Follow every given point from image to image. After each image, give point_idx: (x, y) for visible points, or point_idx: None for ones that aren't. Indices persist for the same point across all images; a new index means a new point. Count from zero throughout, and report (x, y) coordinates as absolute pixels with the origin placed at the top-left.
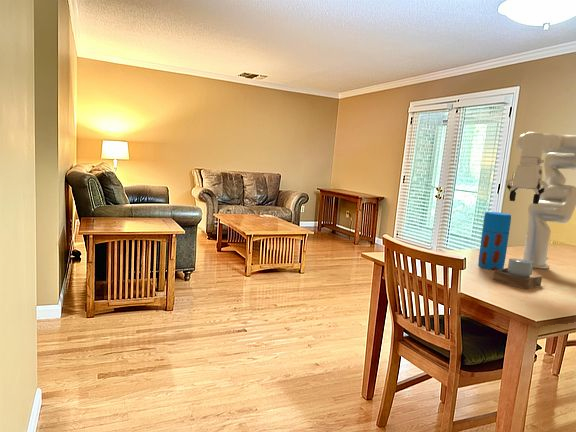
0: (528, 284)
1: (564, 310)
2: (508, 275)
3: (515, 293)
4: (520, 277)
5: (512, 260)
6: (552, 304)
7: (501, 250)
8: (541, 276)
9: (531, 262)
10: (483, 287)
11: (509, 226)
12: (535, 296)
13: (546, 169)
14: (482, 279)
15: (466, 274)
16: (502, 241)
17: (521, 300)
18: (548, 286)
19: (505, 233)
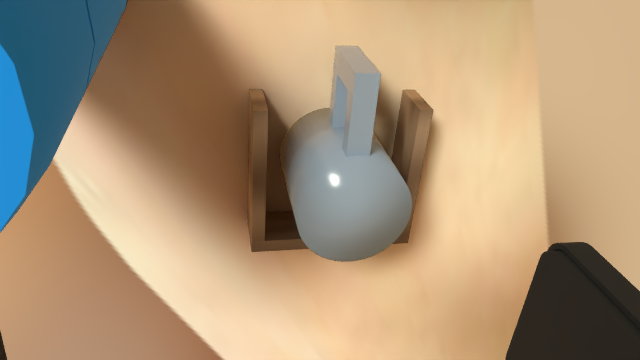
0: None
1: None
2: None
3: (385, 292)
4: None
5: (324, 244)
6: (500, 282)
7: (114, 30)
8: (431, 116)
9: (404, 183)
10: (287, 336)
11: (71, 20)
12: (442, 258)
13: None
14: (219, 255)
15: (130, 256)
16: (101, 57)
17: (423, 334)
18: (442, 61)
19: (92, 62)
